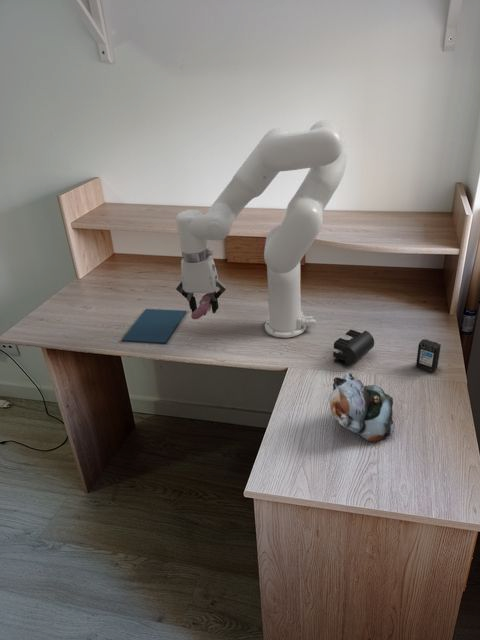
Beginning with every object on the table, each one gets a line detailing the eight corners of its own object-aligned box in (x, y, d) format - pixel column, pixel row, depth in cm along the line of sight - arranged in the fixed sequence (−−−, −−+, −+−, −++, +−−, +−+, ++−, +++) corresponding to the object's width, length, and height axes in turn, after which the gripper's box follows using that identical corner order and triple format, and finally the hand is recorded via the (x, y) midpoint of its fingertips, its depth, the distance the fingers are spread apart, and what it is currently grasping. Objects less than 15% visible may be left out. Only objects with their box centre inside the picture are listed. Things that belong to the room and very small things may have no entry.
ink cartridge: (415, 367, 136) (418, 342, 132) (419, 363, 138) (422, 338, 134) (433, 373, 134) (437, 347, 129) (437, 369, 135) (441, 343, 131)
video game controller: (203, 325, 154) (210, 306, 150) (189, 318, 153) (196, 300, 150) (212, 309, 162) (219, 291, 158) (199, 303, 162) (206, 285, 158)
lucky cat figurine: (393, 448, 111) (368, 411, 103) (342, 452, 118) (315, 418, 110) (398, 392, 121) (375, 355, 113) (351, 399, 127) (326, 364, 119)
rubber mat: (186, 312, 170) (186, 310, 170) (165, 344, 154) (165, 342, 153) (146, 310, 173) (146, 309, 172) (121, 341, 156) (121, 339, 156)
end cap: (354, 371, 137) (356, 349, 133) (332, 362, 141) (332, 341, 137) (373, 354, 143) (375, 333, 139) (351, 346, 147) (352, 325, 143)
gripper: (228, 249, 149) (235, 305, 158) (171, 250, 152) (181, 305, 162) (221, 259, 142) (229, 317, 152) (162, 260, 146) (173, 316, 155)
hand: (204, 310), depth 157 cm, fingers closed on video game controller, 5 cm apart
